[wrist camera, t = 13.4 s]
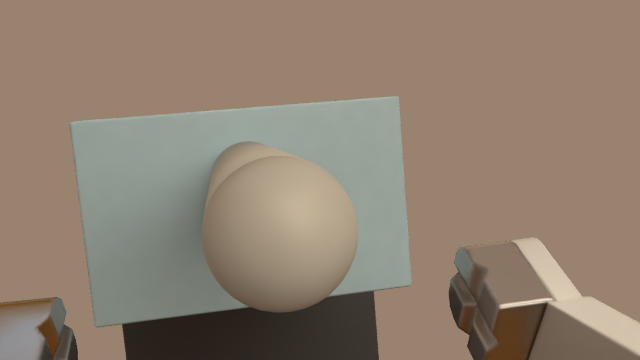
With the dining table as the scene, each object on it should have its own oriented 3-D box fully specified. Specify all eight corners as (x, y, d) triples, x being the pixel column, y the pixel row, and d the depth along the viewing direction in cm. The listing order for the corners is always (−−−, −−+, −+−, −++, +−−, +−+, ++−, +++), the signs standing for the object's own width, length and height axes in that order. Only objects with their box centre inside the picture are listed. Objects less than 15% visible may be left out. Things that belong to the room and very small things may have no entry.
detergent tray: (-99, 639, 6) (-190, 110, 6) (143, 250, 26) (128, 124, 26) (656, 486, 8) (645, 50, 7) (341, 228, 28) (331, 108, 27)
